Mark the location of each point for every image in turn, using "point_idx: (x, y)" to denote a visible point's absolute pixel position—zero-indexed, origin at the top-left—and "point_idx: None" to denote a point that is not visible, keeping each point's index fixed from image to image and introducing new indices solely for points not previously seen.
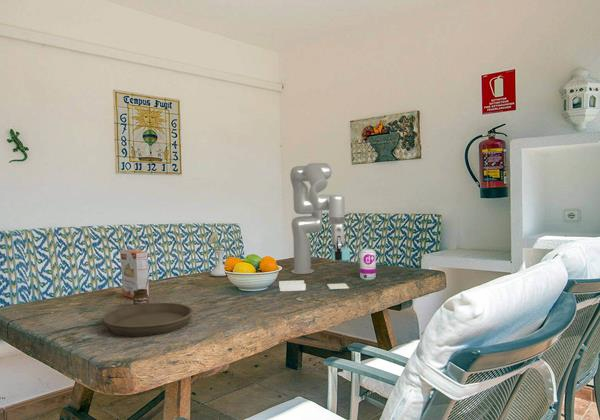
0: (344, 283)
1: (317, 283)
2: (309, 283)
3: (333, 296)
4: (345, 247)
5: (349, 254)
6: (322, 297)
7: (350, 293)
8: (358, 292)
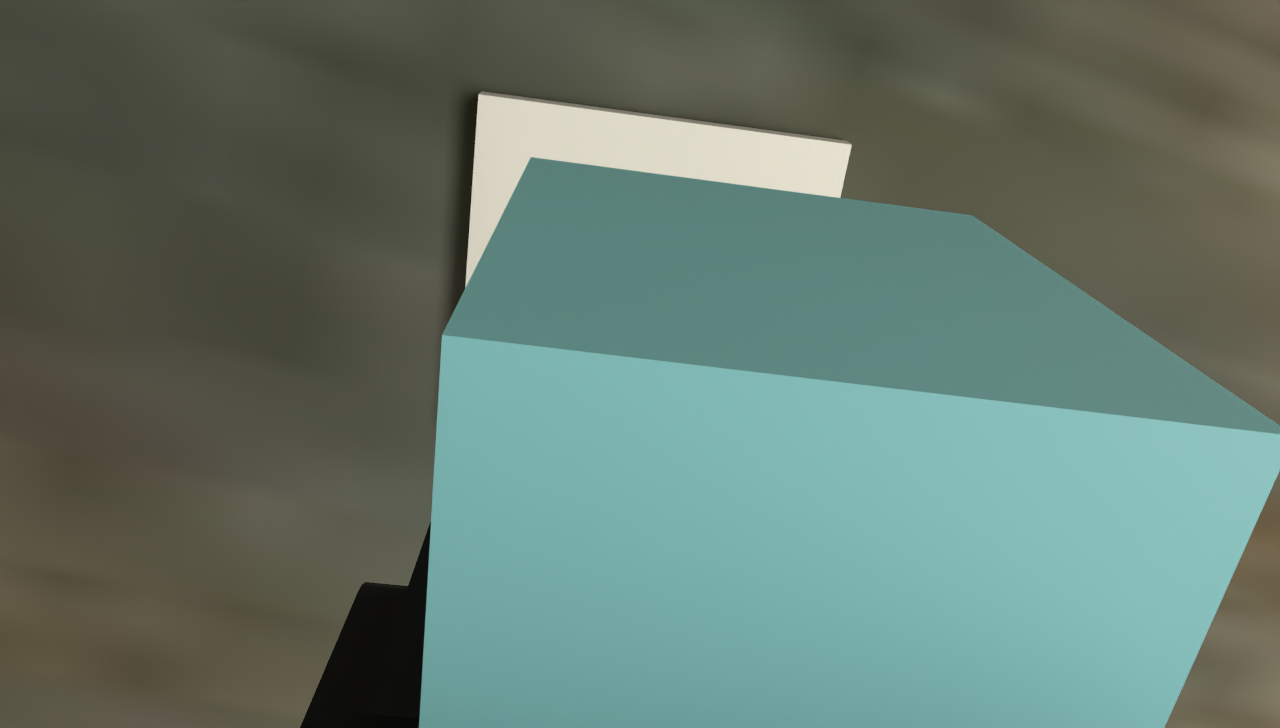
0: (489, 113)
1: (269, 529)
2: (248, 637)
3: (1275, 534)
4: (478, 509)
5: (1075, 298)
6: (1247, 671)
7: (1234, 242)
8: (1239, 79)
